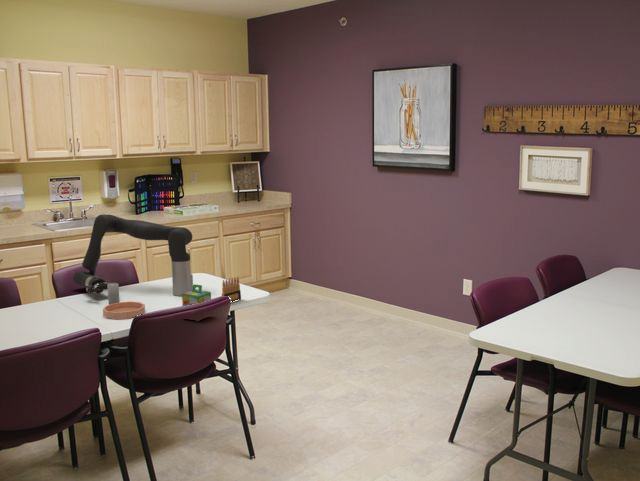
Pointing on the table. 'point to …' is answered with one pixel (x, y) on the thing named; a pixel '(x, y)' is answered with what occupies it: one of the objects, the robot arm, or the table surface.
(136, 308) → the terracotta bowl
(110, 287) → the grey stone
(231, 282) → the ammunition clip
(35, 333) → the table surface
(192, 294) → the chalk box
